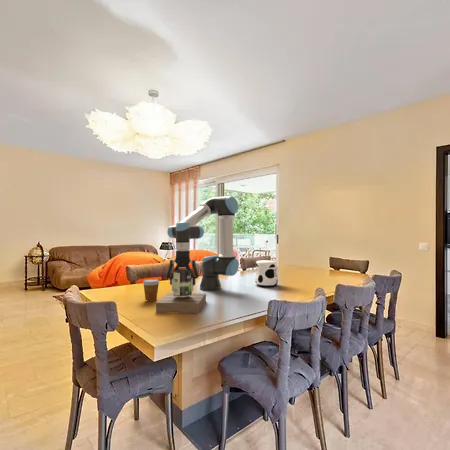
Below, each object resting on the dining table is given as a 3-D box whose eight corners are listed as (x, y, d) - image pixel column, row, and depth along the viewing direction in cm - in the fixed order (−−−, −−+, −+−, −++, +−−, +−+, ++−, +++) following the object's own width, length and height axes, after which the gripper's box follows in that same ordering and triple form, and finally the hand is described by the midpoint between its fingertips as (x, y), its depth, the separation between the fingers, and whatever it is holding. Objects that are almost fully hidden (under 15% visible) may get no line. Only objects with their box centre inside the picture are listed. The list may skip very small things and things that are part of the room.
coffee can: (194, 293, 157) (194, 268, 157) (188, 298, 146) (188, 271, 146) (177, 292, 159) (177, 267, 159) (170, 297, 148) (170, 270, 149)
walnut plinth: (169, 301, 165) (169, 292, 165) (205, 302, 162) (205, 293, 162) (156, 312, 143) (156, 302, 143) (198, 313, 140) (198, 303, 140)
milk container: (252, 283, 217) (252, 260, 217) (274, 283, 219) (274, 260, 219) (257, 288, 200) (257, 263, 200) (281, 287, 201) (281, 262, 202)
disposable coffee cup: (162, 299, 169) (162, 279, 169) (153, 303, 160) (153, 282, 160) (148, 297, 172) (148, 278, 172) (139, 301, 163) (139, 281, 163)
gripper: (160, 250, 150) (160, 292, 150) (201, 251, 148) (201, 293, 148) (164, 249, 158) (164, 288, 158) (204, 249, 155) (204, 289, 155)
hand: (182, 290), depth 153 cm, fingers closed on coffee can, 10 cm apart
